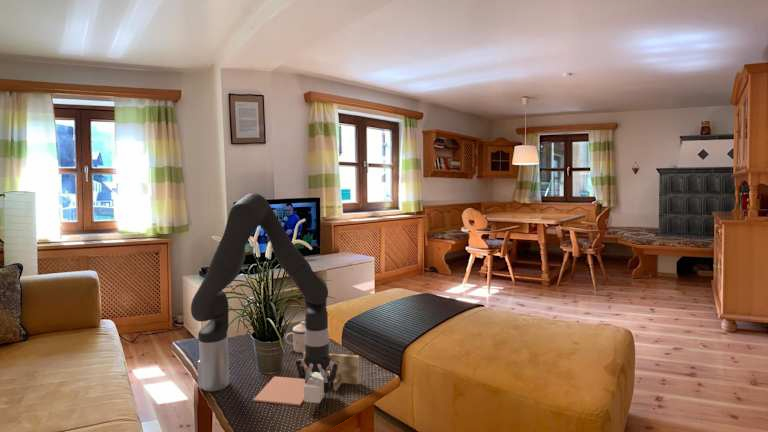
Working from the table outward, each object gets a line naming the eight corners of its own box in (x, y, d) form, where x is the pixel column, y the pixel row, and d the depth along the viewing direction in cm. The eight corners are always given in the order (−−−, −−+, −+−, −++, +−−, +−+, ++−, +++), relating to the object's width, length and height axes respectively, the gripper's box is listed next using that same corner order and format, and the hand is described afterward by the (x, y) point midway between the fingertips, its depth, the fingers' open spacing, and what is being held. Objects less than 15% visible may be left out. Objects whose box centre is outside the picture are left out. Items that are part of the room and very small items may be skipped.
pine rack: (297, 388, 151) (296, 360, 149) (305, 378, 158) (304, 351, 157) (354, 393, 147) (353, 364, 146) (359, 382, 154) (358, 355, 153)
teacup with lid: (314, 343, 188) (314, 317, 187) (315, 352, 180) (314, 324, 178) (286, 345, 186) (285, 319, 185) (285, 354, 177) (284, 327, 176)
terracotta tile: (253, 401, 142) (253, 399, 142) (274, 377, 158) (274, 376, 158) (300, 405, 139) (300, 404, 139) (316, 381, 155) (316, 380, 155)
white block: (304, 401, 136) (303, 386, 136) (315, 384, 147) (315, 369, 146) (319, 403, 135) (319, 387, 135) (329, 385, 146) (329, 371, 146)
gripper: (291, 343, 137) (292, 395, 139) (335, 347, 134) (336, 399, 136) (299, 334, 144) (300, 383, 146) (341, 337, 142) (342, 387, 144)
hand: (317, 391), depth 141 cm, fingers closed on white block, 5 cm apart
